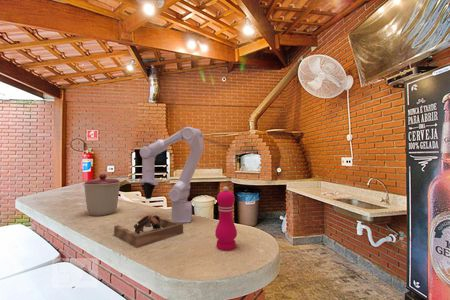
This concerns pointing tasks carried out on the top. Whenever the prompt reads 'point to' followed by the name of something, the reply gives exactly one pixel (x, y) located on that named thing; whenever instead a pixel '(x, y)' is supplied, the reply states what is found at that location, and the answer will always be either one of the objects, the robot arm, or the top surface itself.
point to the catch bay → (149, 233)
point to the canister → (101, 195)
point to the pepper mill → (226, 221)
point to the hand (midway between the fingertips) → (148, 198)
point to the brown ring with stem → (147, 223)
